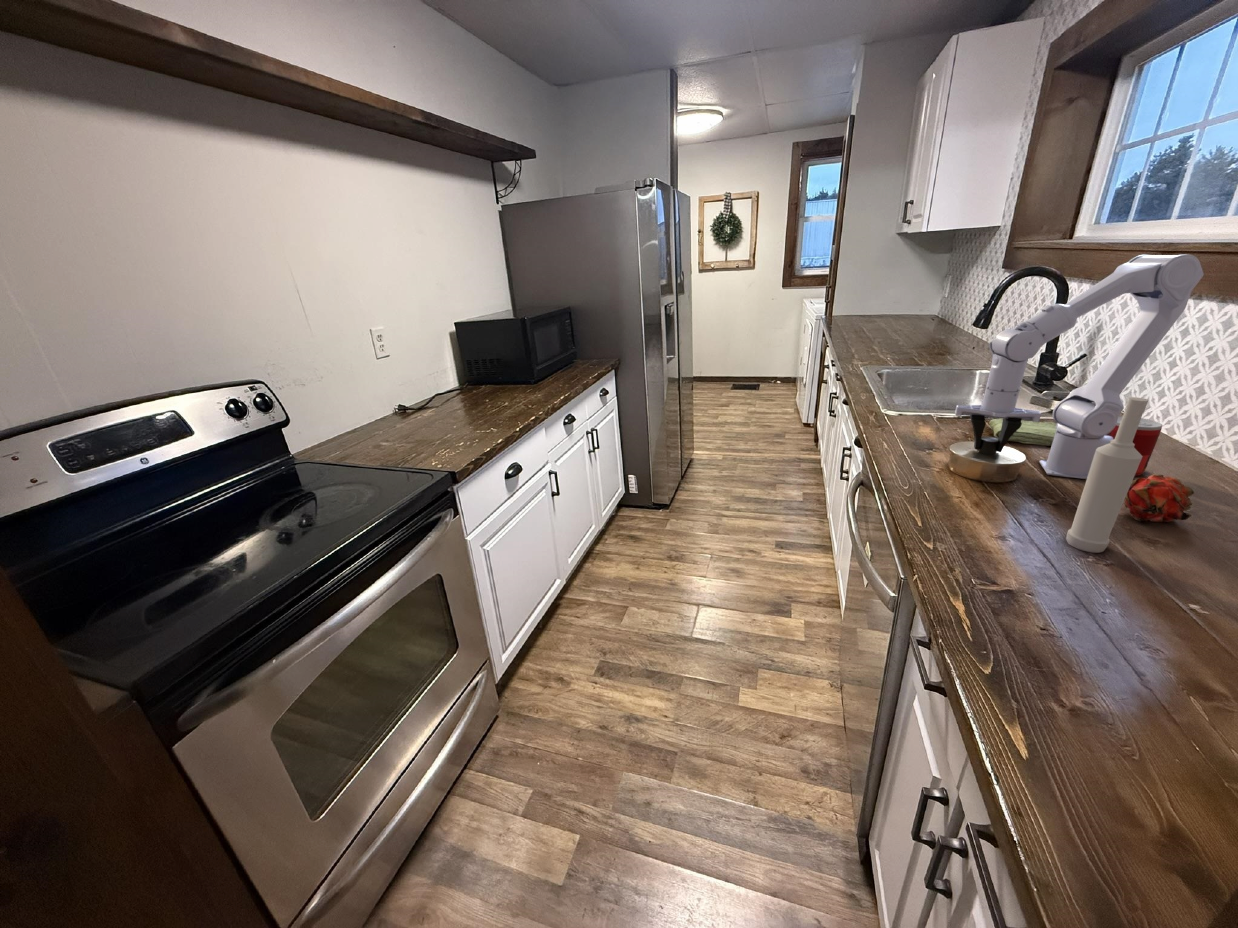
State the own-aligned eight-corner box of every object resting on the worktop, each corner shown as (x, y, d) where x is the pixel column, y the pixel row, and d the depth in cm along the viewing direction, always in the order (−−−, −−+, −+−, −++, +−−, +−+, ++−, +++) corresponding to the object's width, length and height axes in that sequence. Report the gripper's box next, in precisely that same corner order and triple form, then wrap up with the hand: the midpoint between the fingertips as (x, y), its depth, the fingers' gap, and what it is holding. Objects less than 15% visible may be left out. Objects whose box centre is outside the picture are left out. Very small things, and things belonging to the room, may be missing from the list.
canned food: (1153, 477, 104) (1173, 427, 100) (1108, 475, 106) (1126, 427, 102) (1127, 463, 111) (1144, 416, 107) (1085, 462, 113) (1101, 415, 109)
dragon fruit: (1156, 513, 94) (1144, 545, 87) (1114, 480, 96) (1100, 509, 90) (1210, 491, 87) (1201, 523, 81) (1164, 456, 89) (1152, 485, 83)
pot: (1011, 464, 113) (1015, 448, 112) (1022, 486, 103) (1027, 468, 102) (946, 457, 119) (949, 441, 117) (950, 477, 109) (954, 460, 107)
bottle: (1096, 539, 84) (1150, 395, 74) (1113, 555, 79) (1172, 404, 70) (1059, 535, 86) (1107, 394, 76) (1073, 550, 81) (1126, 403, 72)
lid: (1017, 450, 112) (1022, 432, 111) (1030, 473, 101) (1036, 453, 99) (946, 443, 118) (950, 426, 117) (951, 463, 107) (955, 445, 105)
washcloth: (1083, 450, 119) (1087, 437, 118) (993, 441, 127) (996, 429, 126) (1068, 433, 130) (1072, 421, 129) (986, 426, 138) (989, 415, 136)
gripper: (963, 390, 104) (949, 451, 109) (1051, 396, 97) (1032, 460, 103) (960, 383, 109) (947, 440, 115) (1042, 387, 103) (1025, 448, 108)
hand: (987, 449), depth 109 cm, fingers closed on lid, 3 cm apart
